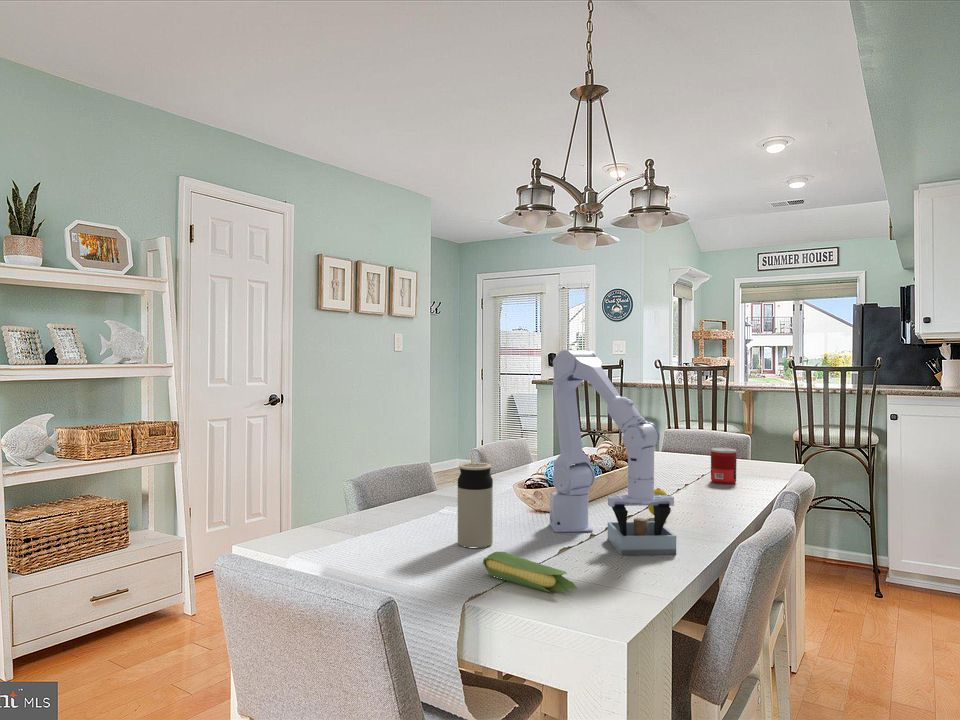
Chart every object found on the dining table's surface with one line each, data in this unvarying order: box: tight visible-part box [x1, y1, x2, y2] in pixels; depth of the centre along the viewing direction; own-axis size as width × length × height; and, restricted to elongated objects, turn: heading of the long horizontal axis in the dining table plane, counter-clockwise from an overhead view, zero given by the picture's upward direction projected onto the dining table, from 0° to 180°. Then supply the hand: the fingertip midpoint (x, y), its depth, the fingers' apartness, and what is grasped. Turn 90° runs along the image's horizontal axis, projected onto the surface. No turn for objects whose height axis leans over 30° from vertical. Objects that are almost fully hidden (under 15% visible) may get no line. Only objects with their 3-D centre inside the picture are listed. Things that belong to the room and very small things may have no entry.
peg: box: [633, 517, 648, 536], centre depth 147 cm, size 3×3×6 cm
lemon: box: [647, 487, 669, 516], centre depth 172 cm, size 6×6×8 cm
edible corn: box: [482, 551, 578, 595], centre depth 124 cm, size 5×20×5 cm
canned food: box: [710, 447, 737, 485], centre depth 218 cm, size 8×8×11 cm
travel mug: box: [457, 461, 494, 548], centre depth 149 cm, size 8×8×18 cm
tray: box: [607, 520, 677, 556], centre depth 147 cm, size 12×12×4 cm
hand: (640, 537), depth 147 cm, fingers open, 7 cm apart
